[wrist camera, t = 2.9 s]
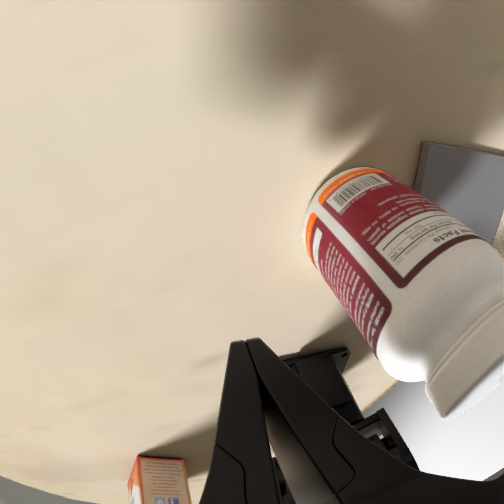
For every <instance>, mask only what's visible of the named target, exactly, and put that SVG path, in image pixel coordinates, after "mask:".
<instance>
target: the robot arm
mask: <svg viewBox="0 0 504 504" xmlns="http://www.w3.org/2000/svg"><path fill="white" fill-rule="evenodd" d="M349 355H350V351H349V349H348V347H342V348H338V349H334V350H330V351H326V352H322V353H318V354H314V355H309V356H305V357H300V358H296V359H291V360H286V361H282V360H281V359H280V358H279V357H278V356H277V355H276V354H275V353H274V352H273V351H272V350H271V349H270V348H269V347H268V346H267V345H266V344H265V343H264V342H263V341H262V340H261V339H260V338H252V339H247V340H246V341H244V340H240V341H233V342H231V344H230V349H229V355H228V361H227V367H226V373H225V379H224V385H223V391H222V397H221V403H220V409H219V416H218V422H217V428H216V434H215V440H214V446H213V452H212V458H211V463H210V468H209V473H208V476H207V480H206V483H205V487H204V490H203V493H202V496H201V499H200V502H199V504H504V468H503V469H501V470H500V471H498V472H497V473H495V474H493V475H492V476H490V477H488V478H487V479H485V480H484V481H474V480H466V479H458V478H452V477H446V476H440V475H434V474H429V473H425V472H421V471H420V470H419V468H418V465H417V463H416V461H415V459H414V457H413V455H412V454H411V452H410V450H409V448H408V447H407V445H406V443H405V442H404V440H403V439H402V437H401V435H400V434H399V432H398V430H397V429H396V427H395V426H394V424H393V422H392V421H391V419H390V418H389V416H388V414H387V413H386V411H385V410H384V408H381V409H380V410H378V411H376V413H375V414H373V415H371V416H369V417H367V418H365V419H364V417H363V415H362V413H361V411H360V409H359V407H358V405H357V403H356V401H355V399H354V397H353V395H352V393H351V391H350V389H349V387H348V385H347V383H346V381H345V380H344V378H343V376H342V373H343V370H344V368H345V365H346V363H347V360H348V357H349ZM380 435H383V437H384V438H382V439H380V438H379V436H380ZM269 441H270V444H271V446H272V449H273V451H274V453H275V456H276V457H273V458H272V456H271V451H270V445H269Z"/></svg>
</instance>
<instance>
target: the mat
mask: <svg viewBox="0 0 504 504" xmlns="http://www.w3.org/2000/svg"><path fill="white" fill-rule="evenodd" d="M413 190H415V191H416V192H418V193H419V194H421V195H422V196H424V197H425V198H427V199H428V200H430V201H431V202H433V203H434V204H436V205H437V206H439V207H440V208H442V209H443V210H445V211H446V212H447V213H449V214H450V215H452V216H453V217H455V218H456V219H457V220H458V221H460V222H461V223H463V224H464V225H465V226H467V227H468V228H469V229H471V230H472V231H473V232H475V233H476V234H477V235H479V236H480V237H481V238H482V239H484V240H485V241H486V242H488V243H489V244H490V245H492V242H493V240H494V237H495V234H496V231H497V229H498V226H499V223H500V220H501V217H502V214H503V211H504V156H503V155H499V154H494V153H489V152H484V151H479V150H474V149H469V148H463V147H457V146H451V145H445V144H438V143H431V142H424V141H423V143H422V149H421V155H420V160H419V165H418V170H417V175H416V180H415V185H414V189H413Z"/></svg>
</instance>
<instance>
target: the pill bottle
mask: <svg viewBox="0 0 504 504" xmlns="http://www.w3.org/2000/svg"><path fill="white" fill-rule="evenodd" d="M302 231H303V243H304V247H305V250H306V252H307V254H308V256H309V257H310V259H311V261H312V263H313V264H314V265H315V267H316V268H317V270H318V271H319V272H320V274H321V275H322V277H323V278H324V279H325V281H326V282H327V284H328V285H329V287H330V288H331V290H332V291H333V292H334V294H335V295H336V297H337V298H338V300H339V301H340V303H341V304H342V306H343V307H344V308H345V310H346V311H347V313H348V314H349V316H350V317H351V319H352V320H353V322H354V323H355V325H356V326H357V328H358V329H359V331H360V332H361V334H362V335H363V337H364V339H365V340H366V342H367V343H368V345H369V346H370V348H371V349H372V351H373V353H374V354H375V356H376V358H377V359H378V360H379V362H380V363H381V364H382V366H383V367H384V369H385V370H386V371H387V372H388V373H389V374H390V375H391V376H392V377H394V378H396V379H398V380H401V381H406V382H417V381H422V380H424V381H425V382H426V385H425V393H426V394H427V397H428V398H429V400H430V402H431V403H432V405H433V407H434V408H435V410H436V411H437V413H438V415H439V416H440V418H441V419H442V420H444V421H446V420H450V419H453V418H455V417H457V416H459V415H460V414H462V413H463V412H465V411H467V410H468V409H470V408H471V407H472V406H474V405H475V404H476V403H478V402H479V401H481V400H482V399H483V398H484V397H485V396H487V395H488V394H489V393H490V392H491V391H492V390H493V389H494V388H496V387H497V386H498V385H499V384H500V382H502V381H503V380H504V260H503V259H502V257H501V255H500V254H499V253H498V252H497V250H496V249H494V248H493V247H492V246H491V245H490V244H489V243H488V242H486V241H485V240H484V239H482V238H481V237H480V236H479V235H477V234H476V233H475V232H473V231H472V230H471V229H469V228H468V227H467V226H465V225H464V224H463V223H461V222H460V221H458V220H457V219H456V218H455V217H453V216H452V215H450V214H449V213H447V212H446V211H445V210H443V209H442V208H440V207H439V206H437V205H436V204H434V203H433V202H431V201H430V200H428V199H427V198H425V197H424V196H422V195H421V194H419V193H418V192H416V191H415V190H413V189H412V188H410V187H408V186H407V185H405V184H404V183H402V182H400V181H399V180H397V179H396V178H394V177H393V176H391V175H389V174H387V173H385V172H383V171H381V170H378V169H375V168H369V167H359V168H353V169H349V170H346V171H343V172H341V173H339V174H337V175H336V176H334V177H332V178H331V179H330V180H328V181H327V182H326V183H325V184H324V185H323V186H322V187H321V188H320V189H319V190H318V192H317V193H316V194H315V196H314V197H313V199H312V201H311V202H310V204H309V206H308V208H307V211H306V214H305V218H304V223H303V230H302Z"/></svg>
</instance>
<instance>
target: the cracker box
mask: <svg viewBox="0 0 504 504" xmlns="http://www.w3.org/2000/svg"><path fill="white" fill-rule="evenodd" d="M128 496H129V504H192V502H191V496H190V491H189V485H188V479H187V473H186V467H185V461H184V460H181V459H163V458H151V457H138V456H137V458H136V461H135V464H134V467H133V470H132V473H131V476H130V479H129V481H128Z"/></svg>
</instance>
